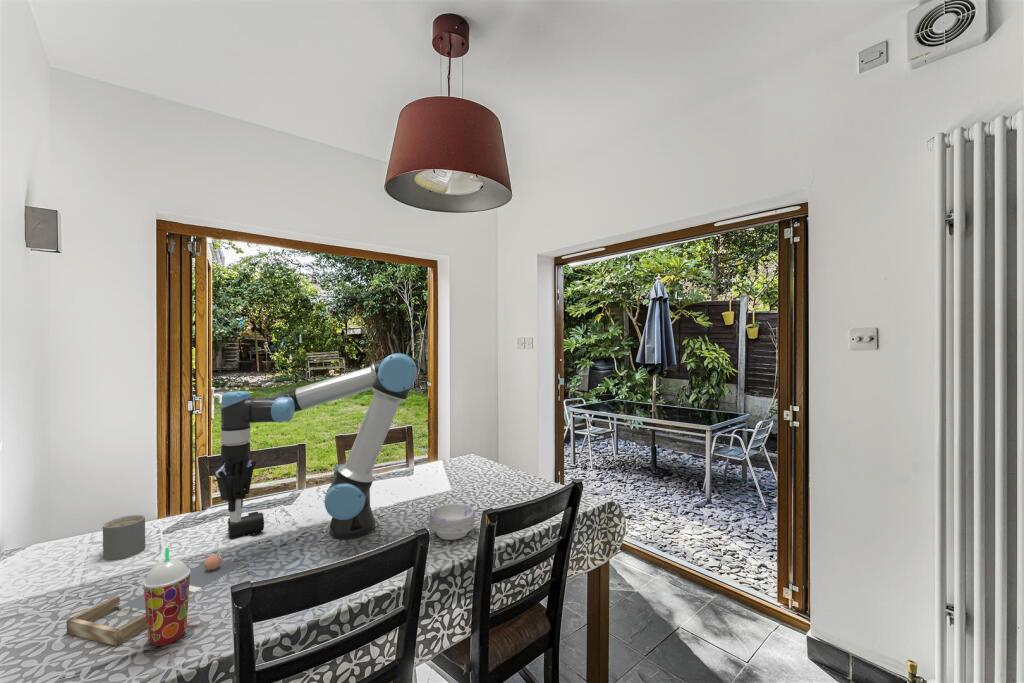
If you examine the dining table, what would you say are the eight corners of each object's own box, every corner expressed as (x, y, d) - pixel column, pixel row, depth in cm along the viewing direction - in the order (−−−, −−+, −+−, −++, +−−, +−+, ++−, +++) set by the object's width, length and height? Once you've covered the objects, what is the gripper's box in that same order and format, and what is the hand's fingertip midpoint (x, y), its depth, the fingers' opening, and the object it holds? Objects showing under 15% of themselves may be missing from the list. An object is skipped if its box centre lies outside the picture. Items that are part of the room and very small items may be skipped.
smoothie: (161, 626, 102) (160, 540, 102) (199, 624, 103) (198, 538, 103) (133, 652, 94) (132, 558, 94) (175, 649, 94) (174, 556, 94)
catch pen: (164, 618, 105) (164, 605, 105) (116, 646, 96) (116, 632, 96) (116, 607, 110) (116, 595, 110) (66, 633, 100) (66, 620, 100)
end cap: (229, 543, 144) (229, 522, 144) (226, 536, 150) (226, 516, 150) (264, 534, 151) (264, 514, 151) (260, 528, 156) (259, 508, 156)
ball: (224, 566, 127) (224, 553, 127) (211, 574, 123) (211, 559, 123) (213, 565, 128) (213, 551, 128) (200, 572, 124) (200, 557, 124)
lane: (244, 567, 129) (244, 563, 129) (158, 616, 106) (158, 612, 106) (212, 561, 132) (212, 558, 132) (122, 608, 109) (122, 604, 109)
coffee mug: (147, 552, 139) (147, 520, 139) (104, 564, 131) (104, 530, 131) (141, 539, 148) (140, 509, 148) (100, 549, 141) (100, 518, 141)
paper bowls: (484, 533, 150) (484, 510, 150) (449, 549, 139) (448, 524, 139) (455, 521, 160) (455, 499, 160) (420, 534, 149) (420, 511, 149)
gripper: (244, 437, 140) (244, 511, 140) (205, 446, 128) (205, 528, 128) (263, 439, 138) (263, 514, 138) (226, 448, 126) (225, 531, 126)
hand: (235, 520), depth 133 cm, fingers closed
